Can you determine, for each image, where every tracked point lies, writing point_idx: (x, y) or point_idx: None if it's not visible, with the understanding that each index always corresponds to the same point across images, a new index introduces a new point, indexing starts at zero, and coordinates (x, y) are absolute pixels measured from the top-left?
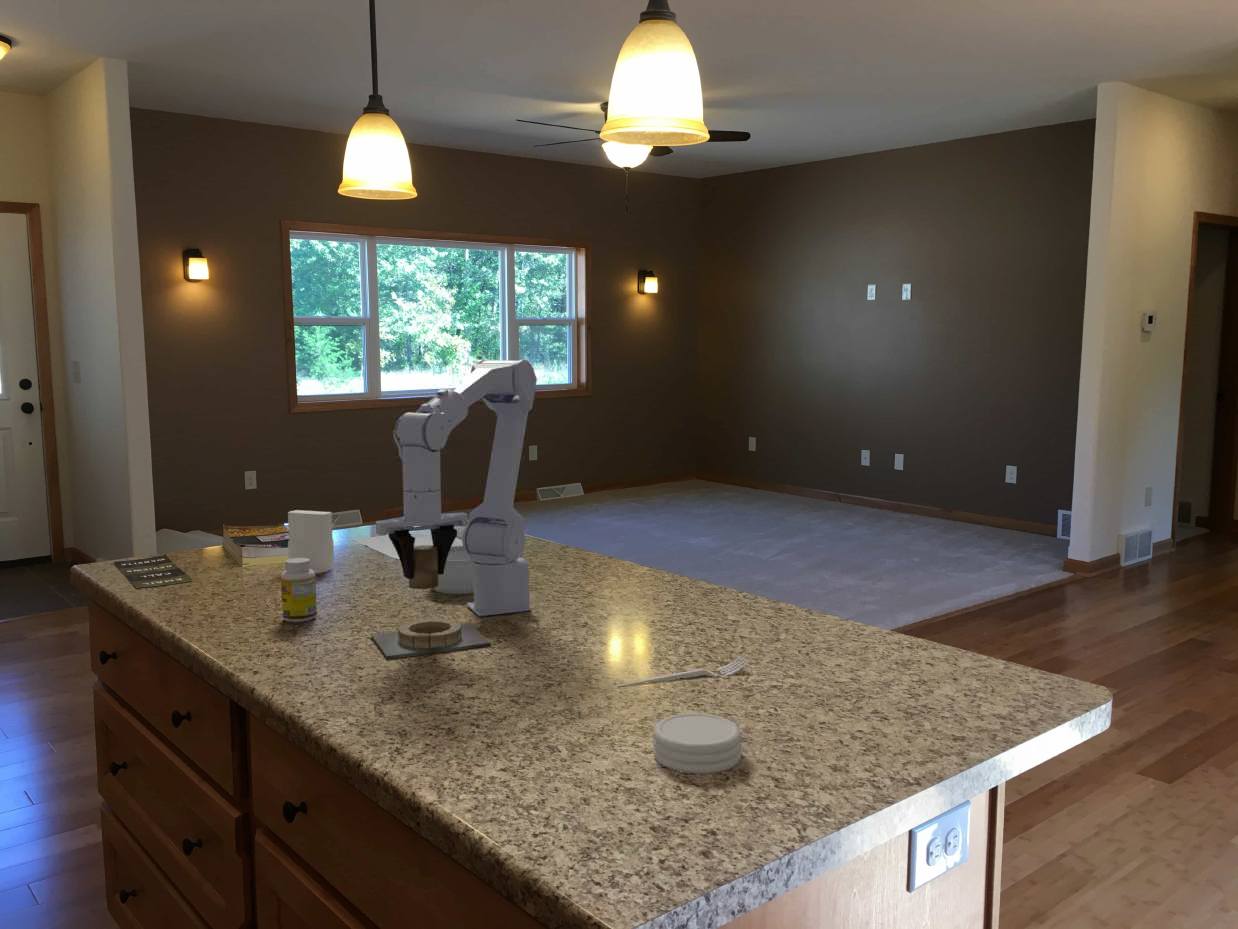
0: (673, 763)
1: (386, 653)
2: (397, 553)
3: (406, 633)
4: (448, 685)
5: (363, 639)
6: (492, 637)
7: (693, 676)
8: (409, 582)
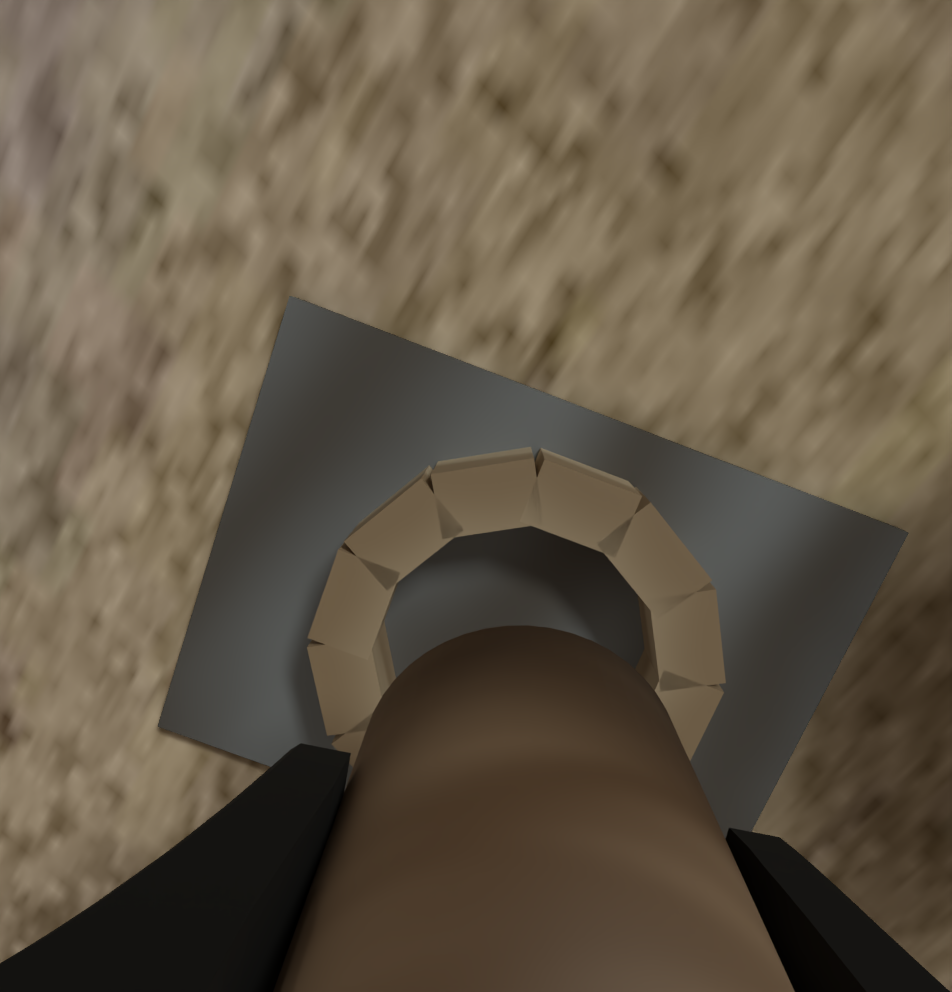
0: None
1: (177, 687)
2: (30, 945)
3: (326, 669)
4: None
5: (241, 289)
6: (817, 803)
7: None
8: (359, 749)
